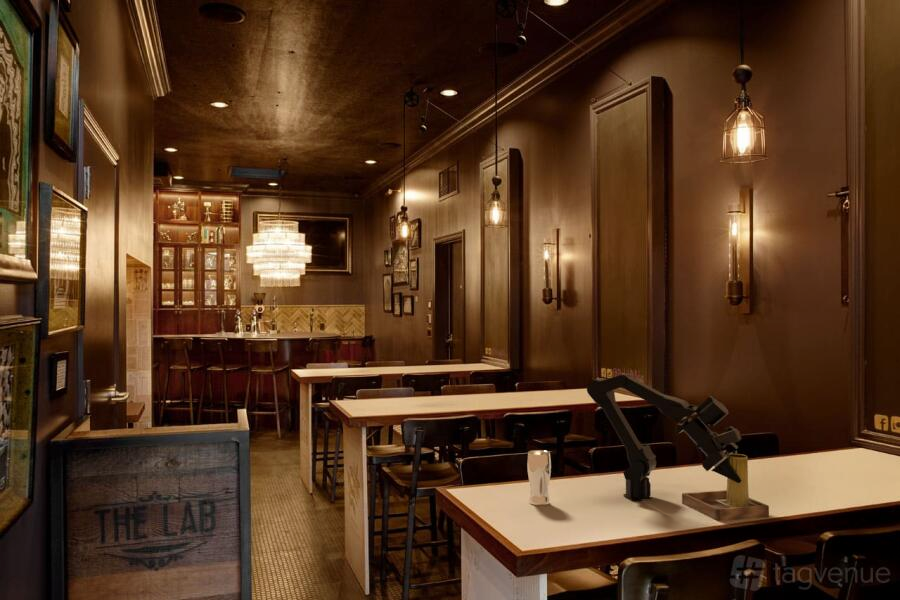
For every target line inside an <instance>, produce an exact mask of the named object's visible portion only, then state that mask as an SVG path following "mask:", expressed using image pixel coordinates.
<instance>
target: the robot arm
mask: <svg viewBox="0 0 900 600" xmlns="http://www.w3.org/2000/svg"><path fill="white" fill-rule="evenodd" d="M619 388H622V389H624V390H626V391H628V392H630V393H632V394H633V395H635V396H636V397H638V398H640V399H642V400H644V401H646V402H648V403H649V404H651V405H653V406H654V407H656V408H657V409H658V410H659V411H660V413H661V414H663V415H664V416H665V417H667V419H670V420H671V421H673V422H679V421H682V420H684V419H685V420H684V421H683V422H682V423H677V424H675V425H676V432H675V433H676V434H677V435H679V434H681V433H683V432H684V433H685V434H686V435H687V436H688V437H689V439H691V441H693V443H694V444H695V446H694V447H695V448H696V449H697V450H698V449H700V450H701V452H702V453H704V454H705V456H706V457H705V458H704V460H702V461H701V463H702V465H701V467H702V468H703V469H704V470H705V471H706V472H708V471H711V472H715V473H717V474H718V475H720V476H723V477H724V478H729V479H731V480H733V481H735V482H737V483H740V482H741V481H742V480H741V479H740V477H739V476H738V474H737V473H736V472H735V470H734V469H733V467H732V466H731V465H730V456H728V454H738V450H737V449H738V448H739V446H738V445H737V444H736V443H738V442H740V441H741V440H742V436H741V435H740V434H741V432H740V430H738V428H734V427H733V426H731V425H730V426H728V427H726V428H725V432H723V433H719V434H718V433H717V431H712V430H711V429H710V428H709V427H708V426H713V427H714V426H716V425H717V424H718V423H719V422H720V421H721V420H723V419H724V418H725V417H726V416H727V415H729V410H728V408H727V407H726V406H725V405H724V404H723V403H722V402H720V401H719V400H717V399H716V398H714V397H713V396H712V395H710V396H708V397H707V398H706V399H705V400H704V401H703V402H702V403H701V404H700V405H699V406H697V405H693V404H689V402H688V401H687V400H684V399H682V398H679V397H675V396H671V395H668V394H664V393H662V392H660V391H658V390H657V389H655V388H653V387H651V386H650V385H647V384H646V383H643V382H642V381H640V380H638V379H636V378H635V377H632V376H631V375H630V374H628V373H620V374H618V375H616V376H613V377H610V378H603V377H602V378H597V379H592V380H590V381H589V382H588V384H587V385H586V392H587V394H588V396H589V397H590V398H591V399H592V400H593V402H594V403H596V404H597V405H598V406H599V407H600V408H601V409H603V411H604V413H605V415H606V417H607V418H608V420H609V422H610V423H611V426H612V427H613V429H614V431H615V432H616V434H617V436H618V438H619V440H620V441H621V443H622V444H623V446H624V448H625V450H626V456H627V460H628V462H629V467H628V468H626V470H624V471H623V473H622V474H623V476H624V479H625V493H623V496H624V497H625V498H627V499H628V500H630V501H633V502H635V501H636V502H637V501H638V502H639V501H643V500H652V499H653V498H652V497H651V495H652V494H651V490H652V489H651V485H652V484H651V482H650V478H649V477H650V475H651V472H652V471H653V470H655V468H656V466H657V460H656V457H657V455H655V454H654V453H653V451H652V448H651V447H650V445H649V444H647V445H643V444H642V443H641V442H640V441H639V439H638V437H637V436H636V434H635V432H634V431H633V429H632V426H630V423H629V422H628V420H627V419H626V417H625V415H624V414H623V412H622V410H621V408H620V407H619V404H617V401H616V395H615V391H614V390H618V389H619ZM696 414H697V415H696ZM694 415H695V417H693V416H694ZM689 417H693V418H689ZM727 456H728V457H727ZM713 467H714V468H713Z"/></svg>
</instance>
